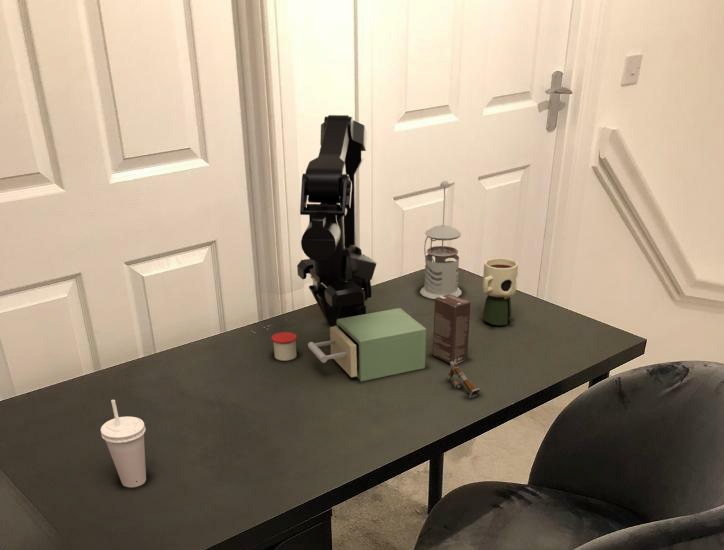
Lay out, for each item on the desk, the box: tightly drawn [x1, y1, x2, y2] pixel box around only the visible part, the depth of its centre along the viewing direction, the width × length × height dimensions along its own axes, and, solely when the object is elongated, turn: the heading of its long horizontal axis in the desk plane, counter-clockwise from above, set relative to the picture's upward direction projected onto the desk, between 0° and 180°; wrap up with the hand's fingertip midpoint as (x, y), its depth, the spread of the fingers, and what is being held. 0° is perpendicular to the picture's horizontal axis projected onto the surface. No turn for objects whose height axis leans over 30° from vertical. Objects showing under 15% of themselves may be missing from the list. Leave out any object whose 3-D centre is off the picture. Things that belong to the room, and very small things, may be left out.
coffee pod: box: [271, 331, 298, 362], centre depth 163 cm, size 5×5×4 cm
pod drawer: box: [307, 326, 359, 378], centre depth 157 cm, size 18×10×6 cm, turn 115°
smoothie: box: [100, 399, 147, 488], centre depth 123 cm, size 6×6×14 cm
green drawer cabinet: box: [336, 307, 427, 382], centre depth 159 cm, size 14×12×8 cm
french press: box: [419, 180, 463, 300], centre depth 186 cm, size 10×12×25 cm
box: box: [432, 294, 472, 364], centre depth 160 cm, size 6×4×12 cm
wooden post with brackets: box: [446, 361, 481, 399], centre depth 151 cm, size 2×8×4 cm, turn 35°
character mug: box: [482, 257, 519, 326], centre depth 174 cm, size 11×7×13 cm, turn 138°
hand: (331, 325), depth 153 cm, fingers closed
